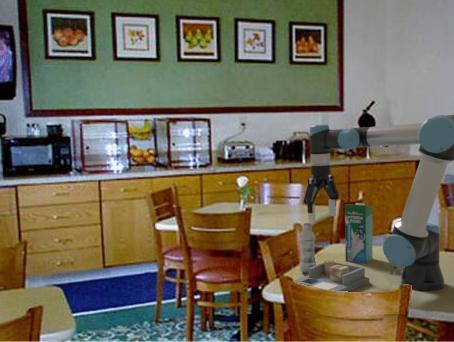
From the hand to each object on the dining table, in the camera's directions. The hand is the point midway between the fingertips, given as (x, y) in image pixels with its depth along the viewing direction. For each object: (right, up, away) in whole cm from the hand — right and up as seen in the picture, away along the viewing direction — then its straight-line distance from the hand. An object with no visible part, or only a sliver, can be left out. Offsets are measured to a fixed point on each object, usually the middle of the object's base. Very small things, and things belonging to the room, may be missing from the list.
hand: (322, 218), depth 228 cm
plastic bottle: (-5, -23, +8) cm, 24 cm away
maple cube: (+5, -22, -10) cm, 25 cm away
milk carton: (+20, -20, +25) cm, 38 cm away
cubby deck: (+2, -24, -9) cm, 26 cm away
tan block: (+3, -21, -2) cm, 22 cm away
